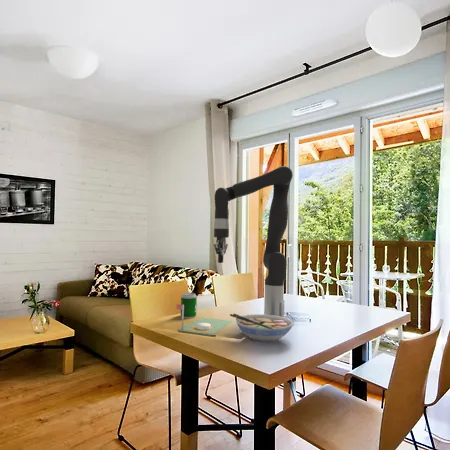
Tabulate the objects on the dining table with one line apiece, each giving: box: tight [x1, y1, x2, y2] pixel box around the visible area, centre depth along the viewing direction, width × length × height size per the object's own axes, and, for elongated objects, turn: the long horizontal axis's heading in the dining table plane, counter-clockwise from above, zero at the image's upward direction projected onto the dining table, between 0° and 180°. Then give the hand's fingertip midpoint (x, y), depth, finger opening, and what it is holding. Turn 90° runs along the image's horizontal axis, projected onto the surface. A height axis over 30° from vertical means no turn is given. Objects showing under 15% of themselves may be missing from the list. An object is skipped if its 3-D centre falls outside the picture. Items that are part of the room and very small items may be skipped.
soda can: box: [180, 292, 198, 319], centre depth 169 cm, size 8×8×12 cm
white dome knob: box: [196, 323, 212, 331], centre depth 148 cm, size 6×6×2 cm
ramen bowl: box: [229, 313, 294, 343], centre depth 138 cm, size 25×23×8 cm
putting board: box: [176, 303, 234, 338], centre depth 153 cm, size 18×24×11 cm
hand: (220, 262), depth 174 cm, fingers closed
